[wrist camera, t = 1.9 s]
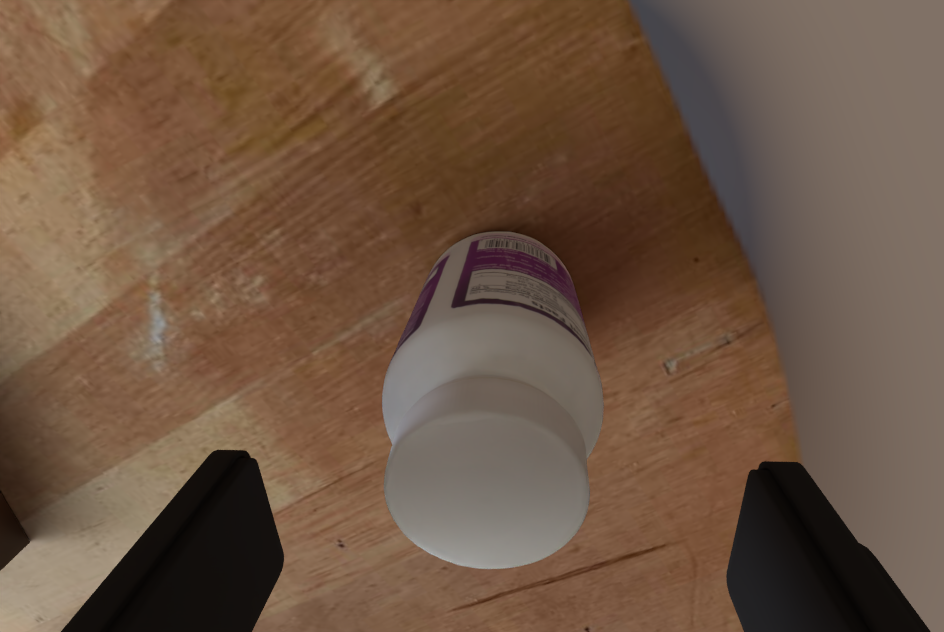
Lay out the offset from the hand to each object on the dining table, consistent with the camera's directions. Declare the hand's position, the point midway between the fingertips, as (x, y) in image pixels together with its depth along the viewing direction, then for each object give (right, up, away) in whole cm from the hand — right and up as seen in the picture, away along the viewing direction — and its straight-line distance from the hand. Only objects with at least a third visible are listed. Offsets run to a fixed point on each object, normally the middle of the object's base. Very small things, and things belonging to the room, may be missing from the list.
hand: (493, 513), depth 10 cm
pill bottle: (+1, +4, +9) cm, 10 cm away
